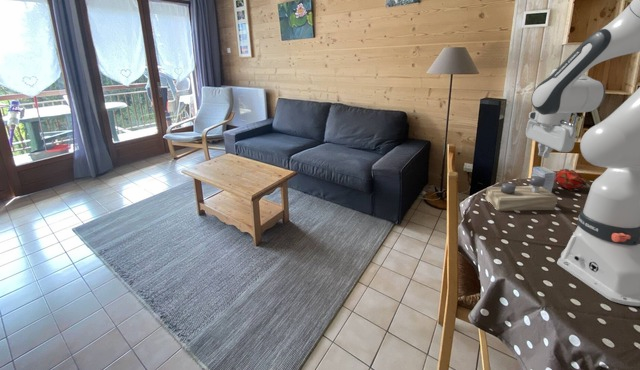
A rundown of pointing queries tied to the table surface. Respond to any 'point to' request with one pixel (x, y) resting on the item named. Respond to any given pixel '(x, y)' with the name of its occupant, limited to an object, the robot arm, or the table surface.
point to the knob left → (508, 188)
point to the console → (521, 199)
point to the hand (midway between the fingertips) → (543, 156)
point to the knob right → (537, 183)
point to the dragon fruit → (569, 179)
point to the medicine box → (545, 174)
